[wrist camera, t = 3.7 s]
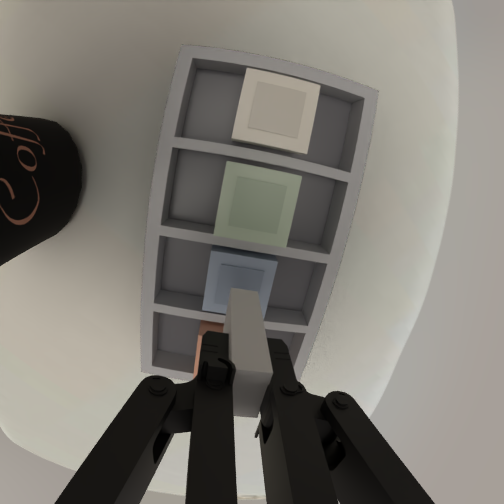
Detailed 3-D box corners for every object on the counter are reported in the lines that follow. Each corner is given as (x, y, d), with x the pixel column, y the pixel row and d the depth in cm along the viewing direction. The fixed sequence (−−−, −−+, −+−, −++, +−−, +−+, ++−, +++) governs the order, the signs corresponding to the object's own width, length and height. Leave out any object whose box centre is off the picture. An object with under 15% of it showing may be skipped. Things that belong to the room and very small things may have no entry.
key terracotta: (201, 318, 22) (198, 336, 20) (258, 326, 23) (261, 345, 20) (195, 362, 24) (192, 381, 21) (247, 368, 24) (249, 388, 22)
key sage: (227, 160, 19) (226, 161, 16) (294, 174, 19) (302, 176, 17) (215, 226, 20) (212, 236, 18) (280, 237, 21) (286, 248, 18)
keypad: (188, 59, 18) (181, 44, 15) (360, 98, 20) (378, 90, 17) (149, 349, 26) (141, 371, 23) (288, 369, 28) (294, 391, 25)
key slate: (213, 240, 22) (211, 251, 19) (273, 251, 22) (278, 262, 20) (204, 295, 23) (201, 311, 21) (260, 304, 24) (264, 320, 21)
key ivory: (245, 77, 17) (247, 66, 15) (310, 93, 18) (321, 84, 15) (231, 140, 18) (231, 137, 16) (298, 154, 19) (307, 154, 17)
